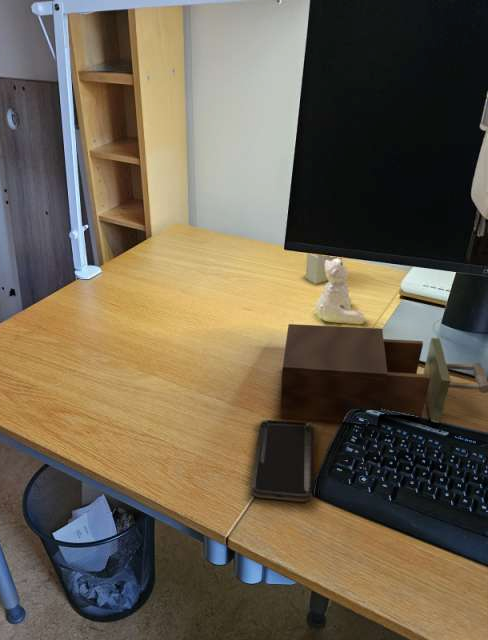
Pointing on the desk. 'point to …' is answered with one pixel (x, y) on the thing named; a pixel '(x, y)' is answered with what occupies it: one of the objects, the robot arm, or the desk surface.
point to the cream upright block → (317, 267)
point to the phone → (284, 461)
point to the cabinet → (332, 372)
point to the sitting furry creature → (337, 296)
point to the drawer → (422, 378)
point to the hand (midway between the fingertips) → (479, 261)
